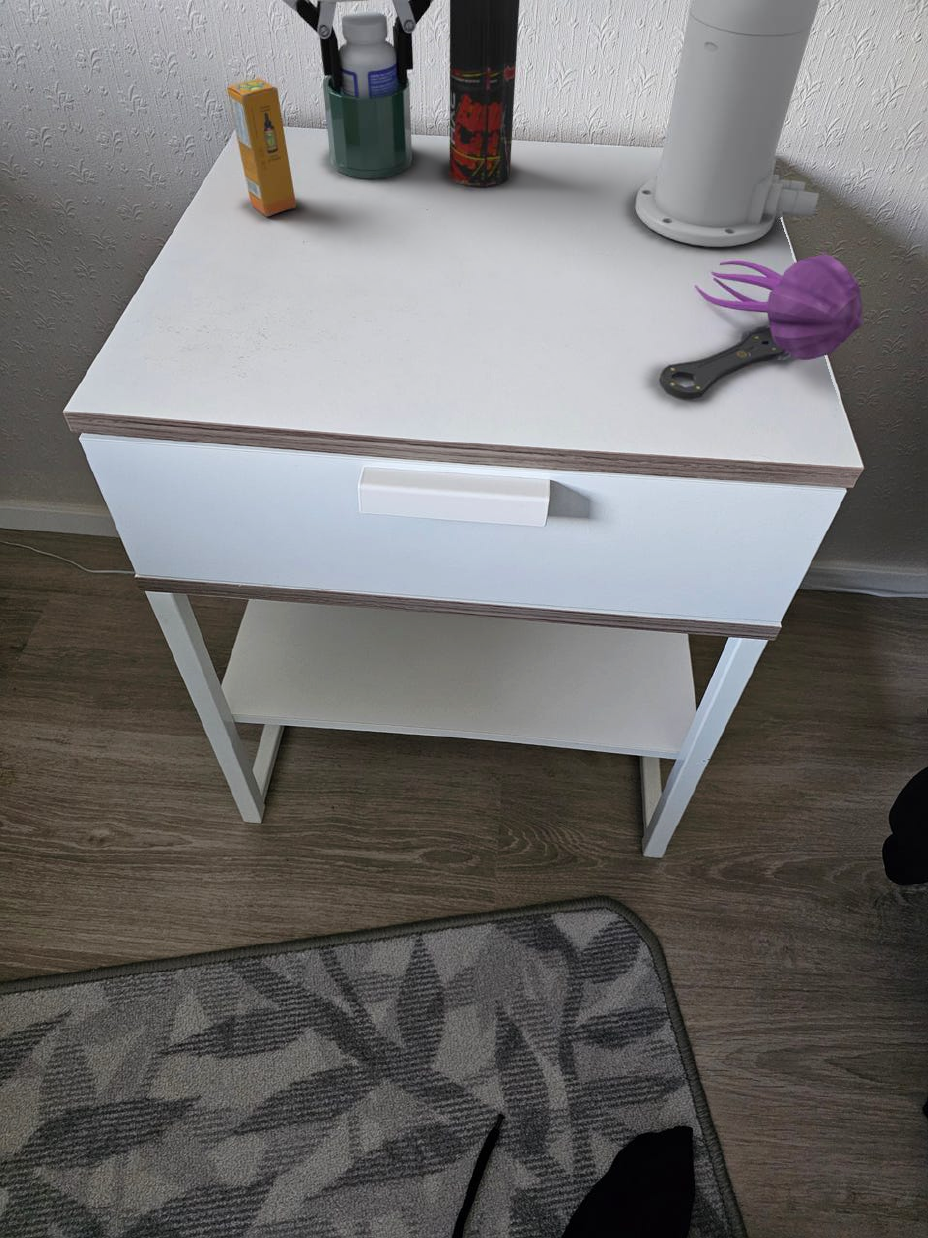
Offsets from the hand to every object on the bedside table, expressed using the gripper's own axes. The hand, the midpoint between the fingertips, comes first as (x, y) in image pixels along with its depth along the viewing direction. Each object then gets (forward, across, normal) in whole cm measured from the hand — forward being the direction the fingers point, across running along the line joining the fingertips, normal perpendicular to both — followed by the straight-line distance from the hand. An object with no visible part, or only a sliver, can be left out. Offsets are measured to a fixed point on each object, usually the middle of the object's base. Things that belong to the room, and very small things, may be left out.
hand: (368, 78), depth 78 cm
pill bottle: (+5, 0, 0) cm, 5 cm away
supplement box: (+7, -11, -8) cm, 15 cm away
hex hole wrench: (+7, +25, -37) cm, 45 cm away
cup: (+7, 0, 0) cm, 7 cm away
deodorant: (+8, +10, -4) cm, 13 cm away
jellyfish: (+6, +23, -28) cm, 37 cm away
